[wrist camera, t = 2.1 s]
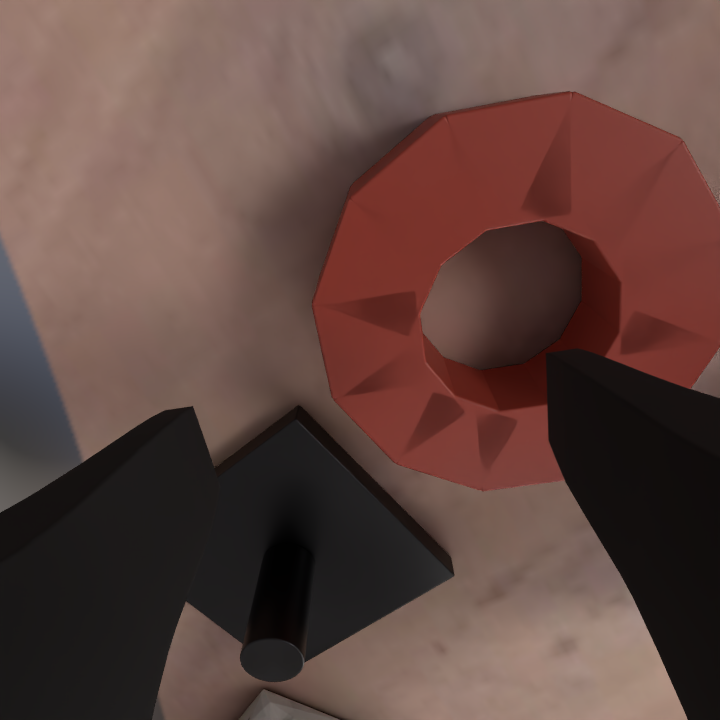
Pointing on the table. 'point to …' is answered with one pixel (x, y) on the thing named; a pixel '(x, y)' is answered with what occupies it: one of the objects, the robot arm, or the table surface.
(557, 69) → the table surface
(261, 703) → the packaged product
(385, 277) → the ring
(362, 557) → the black square peg board
